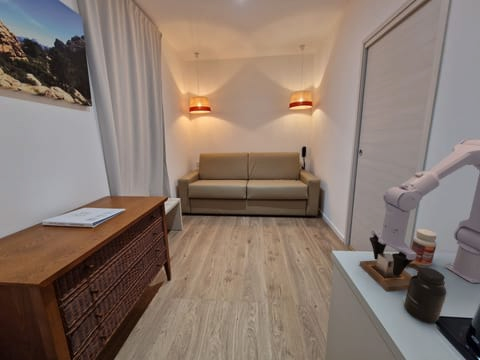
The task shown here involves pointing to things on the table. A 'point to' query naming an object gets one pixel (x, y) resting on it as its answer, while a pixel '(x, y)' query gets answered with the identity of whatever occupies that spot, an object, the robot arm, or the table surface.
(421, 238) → the pill bottle
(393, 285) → the wooden shape sorting board
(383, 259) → the beige rectangular block
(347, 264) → the table surface
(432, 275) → the supplement bottle
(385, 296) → the table surface
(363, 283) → the table surface
